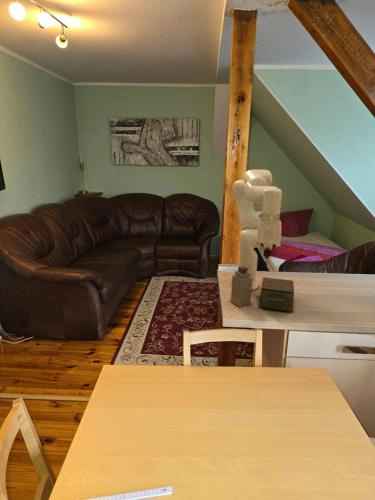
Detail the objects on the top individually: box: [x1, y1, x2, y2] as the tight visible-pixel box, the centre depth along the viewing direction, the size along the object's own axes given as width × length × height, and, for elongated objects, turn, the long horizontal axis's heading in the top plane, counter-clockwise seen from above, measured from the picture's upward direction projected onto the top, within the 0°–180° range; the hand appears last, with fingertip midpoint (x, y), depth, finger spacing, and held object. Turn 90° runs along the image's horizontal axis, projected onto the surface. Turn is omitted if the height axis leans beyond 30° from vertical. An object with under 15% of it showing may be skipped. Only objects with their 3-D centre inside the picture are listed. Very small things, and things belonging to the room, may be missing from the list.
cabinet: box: [259, 276, 295, 313], centre depth 160 cm, size 15×15×10 cm
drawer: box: [261, 290, 293, 312], centre depth 156 cm, size 18×13×8 cm
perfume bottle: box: [230, 266, 253, 308], centre depth 159 cm, size 7×7×18 cm
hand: (266, 257), depth 148 cm, fingers closed
